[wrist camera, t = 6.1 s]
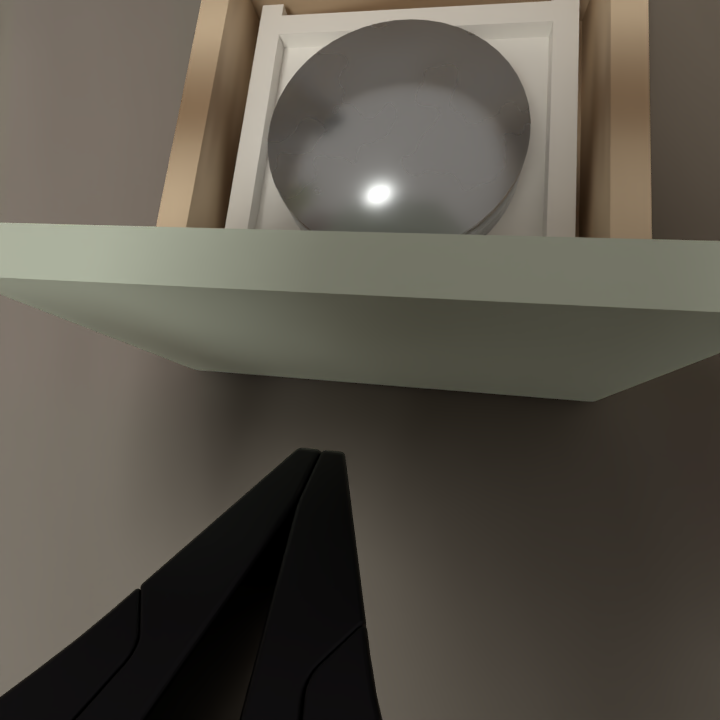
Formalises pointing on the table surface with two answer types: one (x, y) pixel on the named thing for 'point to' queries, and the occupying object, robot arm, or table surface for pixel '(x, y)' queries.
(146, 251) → the drawer
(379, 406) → the table surface
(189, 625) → the robot arm
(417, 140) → the disc
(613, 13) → the housing
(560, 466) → the table surface
